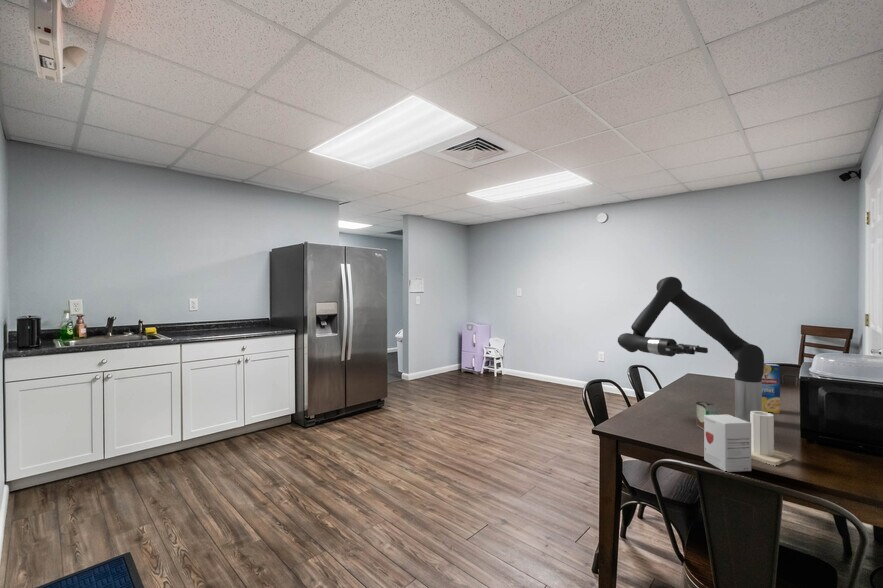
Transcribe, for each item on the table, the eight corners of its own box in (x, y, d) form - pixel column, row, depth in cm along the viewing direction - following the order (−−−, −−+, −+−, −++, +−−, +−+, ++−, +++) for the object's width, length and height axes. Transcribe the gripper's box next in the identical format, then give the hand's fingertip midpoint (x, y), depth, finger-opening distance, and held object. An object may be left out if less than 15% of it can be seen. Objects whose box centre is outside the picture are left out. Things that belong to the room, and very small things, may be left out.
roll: (755, 447, 135) (755, 409, 135) (777, 453, 130) (777, 414, 130) (746, 450, 133) (746, 412, 133) (768, 457, 127) (768, 417, 127)
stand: (751, 446, 139) (751, 418, 139) (793, 459, 128) (793, 428, 128) (732, 452, 134) (732, 422, 134) (774, 466, 123) (774, 433, 123)
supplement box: (702, 460, 128) (702, 414, 128) (728, 459, 128) (728, 413, 129) (725, 472, 119) (725, 423, 119) (752, 471, 119) (752, 422, 119)
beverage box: (780, 413, 179) (780, 365, 179) (751, 411, 183) (751, 364, 183) (773, 409, 186) (773, 363, 186) (745, 407, 189) (745, 362, 189)
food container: (724, 433, 150) (724, 407, 151) (706, 431, 152) (706, 405, 153) (712, 426, 162) (712, 401, 163) (695, 424, 164) (695, 400, 165)
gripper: (651, 338, 166) (690, 342, 152) (672, 337, 172) (711, 340, 158) (651, 356, 166) (690, 362, 151) (672, 354, 172) (711, 359, 158)
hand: (701, 351), depth 155 cm, fingers open, 8 cm apart
